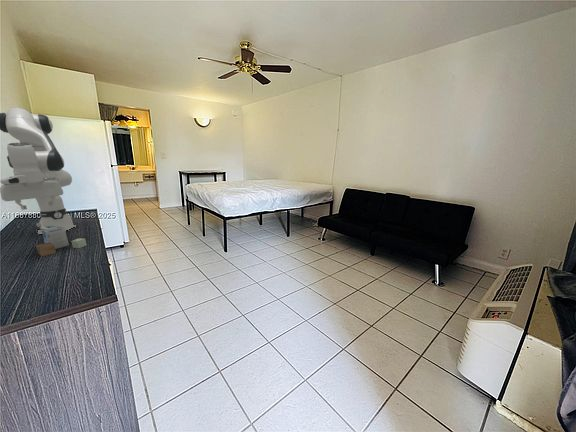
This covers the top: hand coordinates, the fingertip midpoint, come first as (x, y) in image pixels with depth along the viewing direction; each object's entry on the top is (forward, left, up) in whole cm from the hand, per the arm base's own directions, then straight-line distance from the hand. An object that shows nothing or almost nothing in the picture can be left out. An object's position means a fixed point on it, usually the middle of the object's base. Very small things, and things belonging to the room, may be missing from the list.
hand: (38, 207), depth 112 cm
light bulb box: (-9, +5, -24) cm, 26 cm away
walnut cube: (+1, -2, -23) cm, 23 cm away
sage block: (+4, +10, -23) cm, 26 cm away
